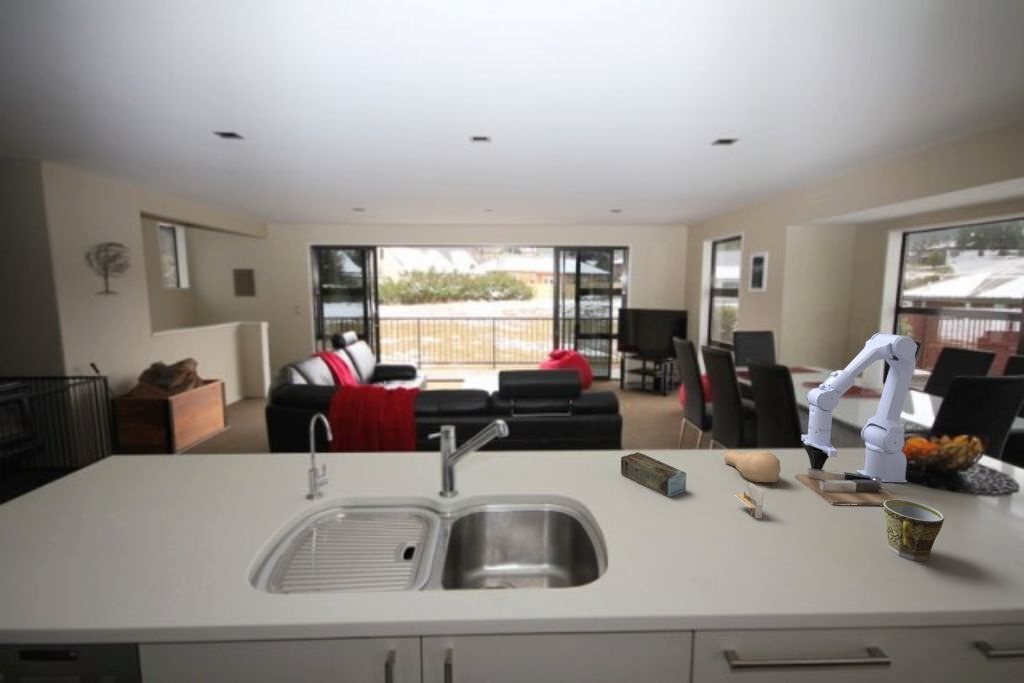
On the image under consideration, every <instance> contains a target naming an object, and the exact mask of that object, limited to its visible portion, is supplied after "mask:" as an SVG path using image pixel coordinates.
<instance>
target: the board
mask: <svg viewBox="0 0 1024 683" xmlns="http://www.w3.org/2000/svg"><path fill="white" fill-rule="evenodd" d="M794 478H795V479H796V478H797V479H796V480H798V481H801V482H800V483H801V484H803V485H804V484H805V486H806V487H807V486H808V487H809V489H810V488H811V489H812V490H811V489H810V490H811V491H813V490H814V491H815V492H816V494H817V493H818V494H819V495H821V496H822V497H823V498H825V499H826V500H828V501H829V502H830V503H832V504H850V505H851V504H857V505H880V506H879V507H884V506H883V505H884V502H885V501H887V500H894V499H896V500H902V498H900V497H898V496H896V495H894V494H892V493H891V492H890V491H887V490H885V488H882V487H881V489H879V493H856V492H822V491H821V490H820V489H819V487H820V479H814V478H808V476H807V474H805V473H804V474H803V473H802V474H799V473H798V474H797V473H796V474H794ZM808 487H807V488H808ZM814 491H813V492H814ZM815 492H814V493H815ZM818 494H817V495H818ZM819 495H818V496H819ZM821 496H820V497H821ZM822 497H821V498H822ZM823 498H822V499H823ZM825 499H824V500H825ZM826 500H825V501H826ZM828 501H827V502H828ZM829 502H828V503H829ZM830 503H829V504H830ZM832 504H831V505H832ZM881 505H882V506H881Z"/></svg>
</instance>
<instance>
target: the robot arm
mask: <svg viewBox="0 0 1024 683" xmlns="http://www.w3.org/2000/svg"><path fill="white" fill-rule="evenodd" d="M917 348H918V345H917V343H916V342H915V341H914V339H912V338H911V337H910V336H908V335H898V334H892V333H891V334H890V333H885V332H877V333H875V334H874V335H872V336H871V337H870V339H868V340H867V341H865V346H864V348H863V349H861V351H860V352H859V353H858V354H857V355H856V356H855V357H854V359H852V360H851V362H850V363H849V364H848V365H847V366H846V367H845V368H844V369H841V370H840V369H838V370H835V371H832V372H831V373H830V376H829V377H828V378H826V379H825V381H824V382H822V383H821V384H819V386H818V387H815V388H812V389H811V390H810V391H809V392H808V393H807V395H806V396H805V400H806V402H807V404H808V409H809V415H808V427H807V428H808V429H807V434H801V441H802V442H803V444H805V445H806V446H805V447H804V450H805V452H806V453H807V456H808V458H809V459H808V460H809V462H810V468H813V469H820V470H823V468H824V465H825V463H826V462H827V460H828V459H829V458H837V457H838V450H837V449H835V447H834V446H833V444H831V434H832V422H833V421H832V420H833V410H834V409H835V408H837V407H838V405H839V402H840V399H841V397H842V396H843V395H844V394H845V393H846V392H847V391H849V389H851V387H853V386H854V385H855V383H856V380H855V378H856V377H858V375H860V374H861V373H863V372H864V371H865V370H866V369H867V368H869V367H870V366H872V365H873V364H874V363H875V362H876V361H879V360H885V361H886V363H887V365H889V369H888V373H887V376H886V379H885V384H884V387H883V389H882V390H883V391H882V393H881V396H880V400H879V404H878V407H877V410H876V413H875V415H874V416H872V417H870V418H868V420H867V423H866V424H865V426H864V427H863V428H862V430H861V432H860V436H861V439H862V440H863V441H864V445H865V455H864V456H865V458H864V459H865V460H864V468H863V469H857V470H856V472H857V474H861V475H868V476H870V477H879V478H881V479H882V483H907V482H908V480H906V475H907V474H906V473H907V460H908V459H907V457H906V456H907V455H906V454H905V453H904V451H902V449H903V448H904V446H905V437H904V436H905V432H906V430H905V428H904V426H903V425H902V424H901V422H900V418H901V416H902V411H903V409H904V404H905V402H906V398H907V396H908V391H909V388H910V384H911V382H912V378H913V376H914V371H915V369H916V365H917V363H916V354H917V353H916V352H917V350H918V349H917Z"/></svg>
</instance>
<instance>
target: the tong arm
mask: <svg viewBox="0 0 1024 683" xmlns="http://www.w3.org/2000/svg"><path fill="white" fill-rule="evenodd" d="M806 475H807V476H808V478H814V479H820V480H841V481H852V480H875V481H877V482H879V489H881V488H882V485H883V482H882V479H881V478H879V477H870V476H868V475H862V474H860V473H853V472H846V471H844V472H839V471H832V470H827V469H826V470H825V469H822V470H820V469H813V468H811V467H807V474H806Z"/></svg>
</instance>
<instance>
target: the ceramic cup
mask: <svg viewBox="0 0 1024 683" xmlns="http://www.w3.org/2000/svg"><path fill="white" fill-rule="evenodd" d="M883 514H884V515H883V516H884V520H885V525H886V532H887V538H888V539H887V540H888V547H889V550H890V551H892V550H893V551H894V552H895V553H894V552H893V551H892V552H893V553H894V554H896V555H897V554H898V555H899V557H901V558H904V559H907V560H909V561H913V562H927V561H928V559H929V557H930V555H931V553H932V552H931V551H932V548H933V546H934V542H935V541H936V538H937V537H938V535H939V534H940V532H941V530H942V527H943V524H944V521H945V516H944V514H943V513H941V511H939V510H937V509H935V508H933V507H931V506H928V505H925V504H922V503H919V502H915V501H910V500H905V499H901V500H896V499H894V500H887V501H885V502H884V506H883ZM898 555H897V556H898Z"/></svg>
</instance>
